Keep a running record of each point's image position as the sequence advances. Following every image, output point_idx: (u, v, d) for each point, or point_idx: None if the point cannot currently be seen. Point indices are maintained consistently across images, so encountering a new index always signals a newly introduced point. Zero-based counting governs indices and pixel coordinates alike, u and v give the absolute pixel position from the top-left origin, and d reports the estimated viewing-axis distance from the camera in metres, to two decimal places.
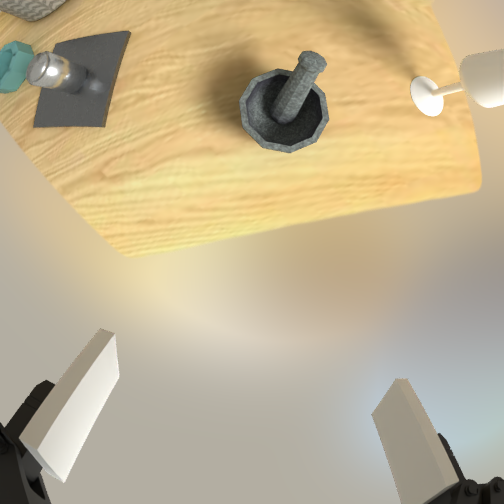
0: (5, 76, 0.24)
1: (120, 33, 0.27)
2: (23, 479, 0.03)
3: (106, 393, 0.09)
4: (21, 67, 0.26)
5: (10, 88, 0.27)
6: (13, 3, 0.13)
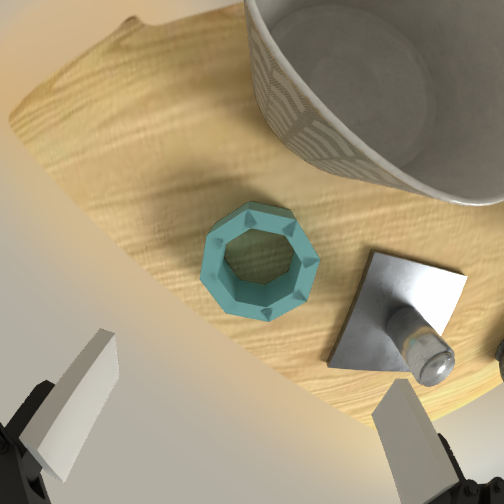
0: (286, 304, 0.25)
1: (460, 277, 0.28)
2: (23, 479, 0.03)
3: (106, 393, 0.09)
4: None
5: None
6: None
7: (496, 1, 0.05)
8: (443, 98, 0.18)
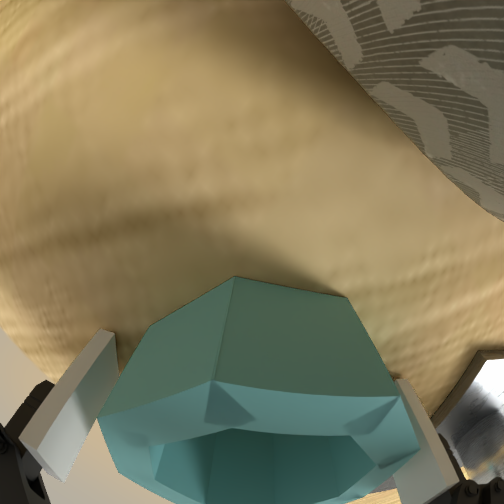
0: None
1: None
2: (23, 479, 0.03)
3: (106, 393, 0.09)
4: None
5: None
6: None
7: None
8: None
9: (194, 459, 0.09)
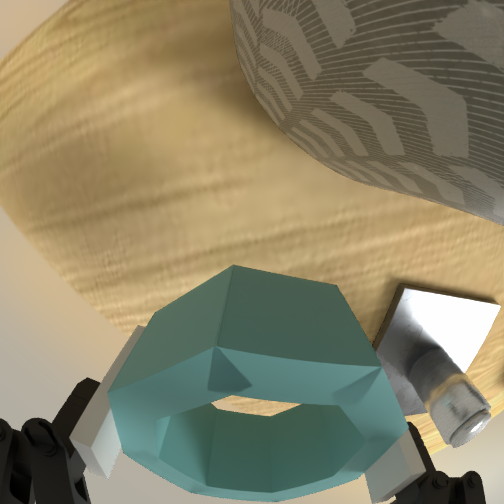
0: (314, 487, 0.08)
1: (494, 307, 0.20)
2: (71, 483, 0.04)
3: None
4: None
5: None
6: None
7: None
8: None
9: (195, 441, 0.10)
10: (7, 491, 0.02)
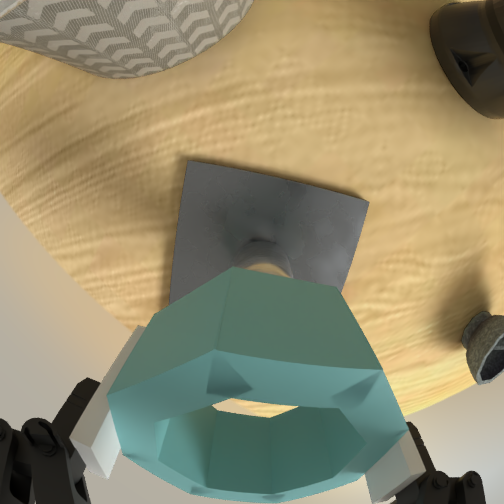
0: (314, 489, 0.08)
1: (354, 202, 0.22)
2: (71, 483, 0.04)
3: None
4: None
5: None
6: (72, 40, 0.09)
7: None
8: None
9: (195, 442, 0.10)
10: (7, 491, 0.02)
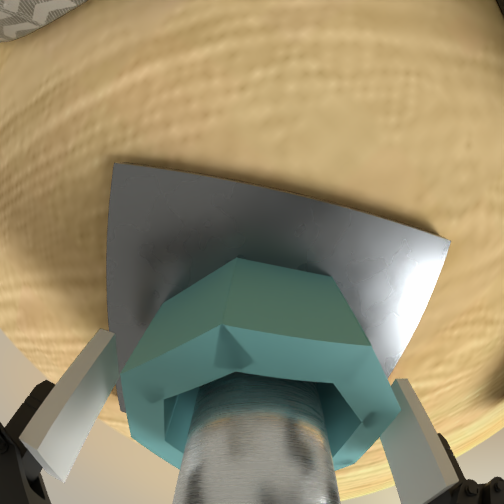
0: None
1: (430, 242, 0.11)
2: (23, 479, 0.03)
3: (106, 393, 0.09)
4: None
5: None
6: None
7: None
8: None
9: None
10: None
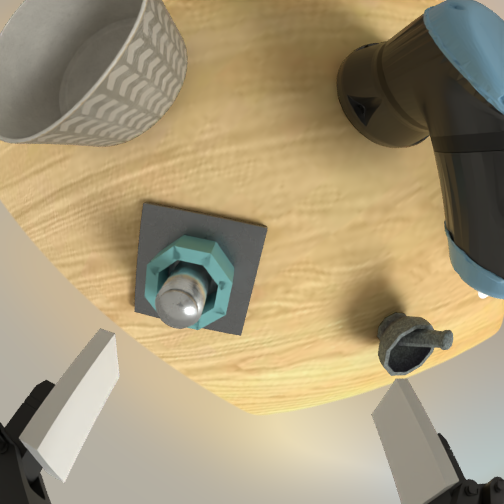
0: (209, 317, 0.32)
1: (255, 228, 0.34)
2: (23, 479, 0.03)
3: (106, 393, 0.09)
4: None
5: None
6: (63, 143, 0.19)
7: None
8: None
9: None
10: None
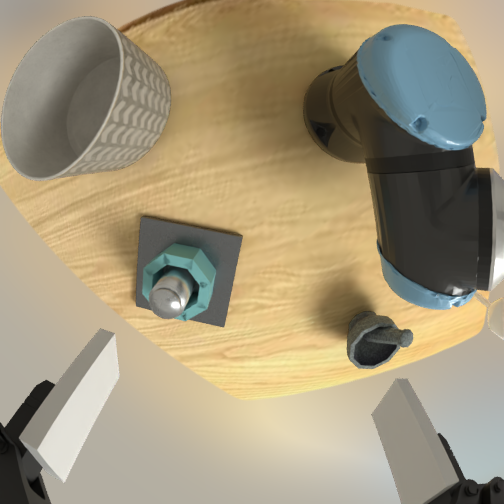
0: (194, 310, 0.39)
1: (232, 238, 0.41)
2: (23, 479, 0.03)
3: (106, 393, 0.09)
4: (210, 294, 0.41)
5: None
6: None
7: None
8: None
9: None
10: None
